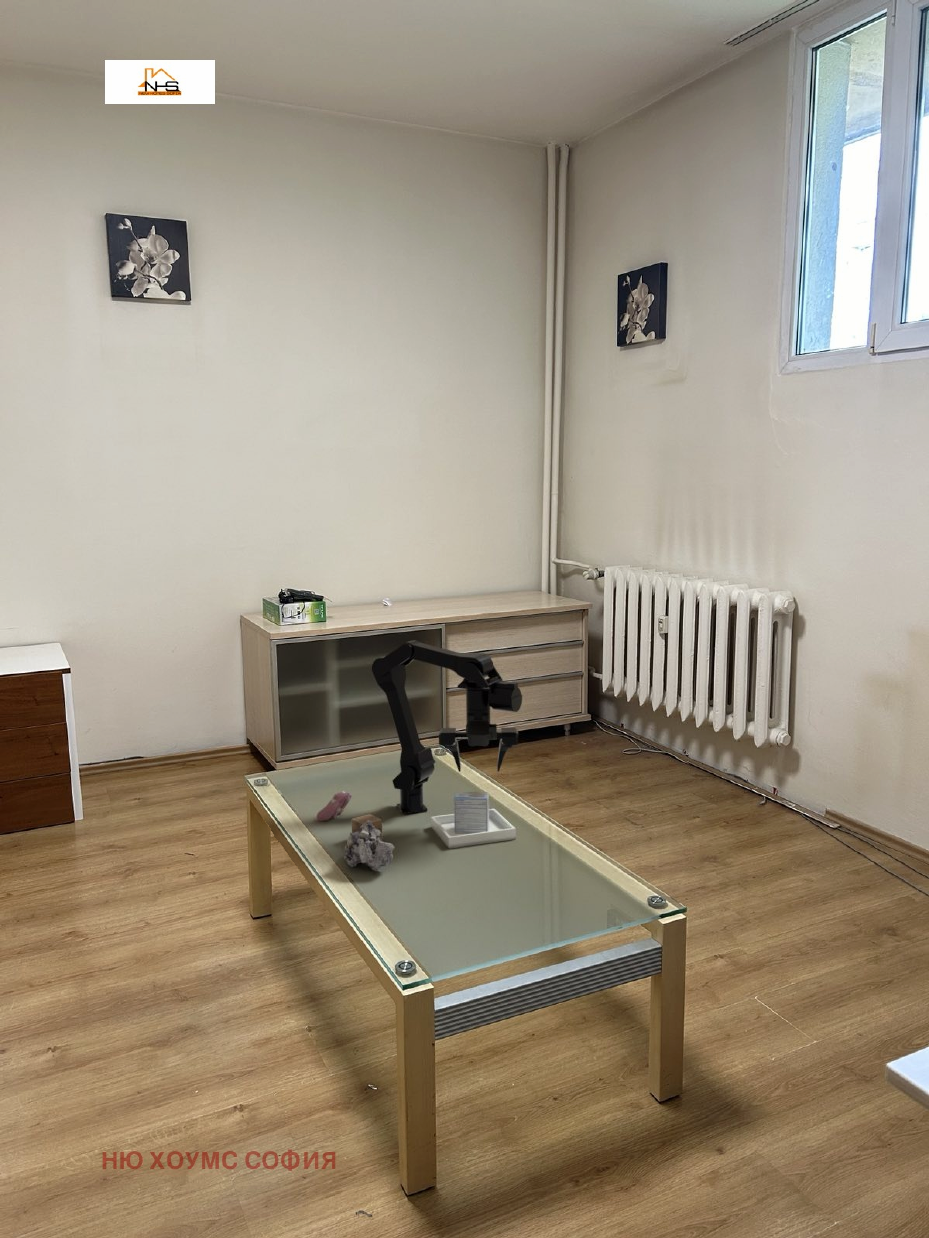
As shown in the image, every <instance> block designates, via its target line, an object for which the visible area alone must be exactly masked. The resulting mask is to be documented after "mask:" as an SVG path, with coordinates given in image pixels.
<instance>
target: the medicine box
mask: <svg viewBox="0 0 929 1238" xmlns="http://www.w3.org/2000/svg"><path fill="white" fill-rule="evenodd" d="M489 797H490V795H489V792H488V791H456V792H455V794H454V797H453V814H454V832H455V833H480V832H487V831H489V809H490V798H489Z"/></svg>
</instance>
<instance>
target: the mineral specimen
mask: <svg viewBox="0 0 929 1238" xmlns="http://www.w3.org/2000/svg"><path fill="white" fill-rule="evenodd" d="M381 834H382V835H383V832H382V833H381V832H380V830H377V829H376V828H374V826H373V824H372V821H370V820H368V821H367V824H364V825H362V826H361V827H360V831H359V832H358V831H357V832H355V833H352V832H349V835H350V836H349V837H348V838H347V839H346V845H345V846H344V852H343V855H344V856H343V859H344V861H346V863H347V865H348V866H350V867H351V868H353V867H356V866H357V865H358V864H360V863H362V864H367V866H368V867H369V868H370V869H371V870H372V871H373V872H376V873H377V872H378V871H379V869H380V868H381V867H385V868H386V867H387V866H388V865H389V864H391V862H392V861H393V857H394V855H393V850H395V848H396V847H395V846H394V845H393V843H390V842H384V841H383V840H382V841H381V840H380V836H381Z"/></svg>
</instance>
